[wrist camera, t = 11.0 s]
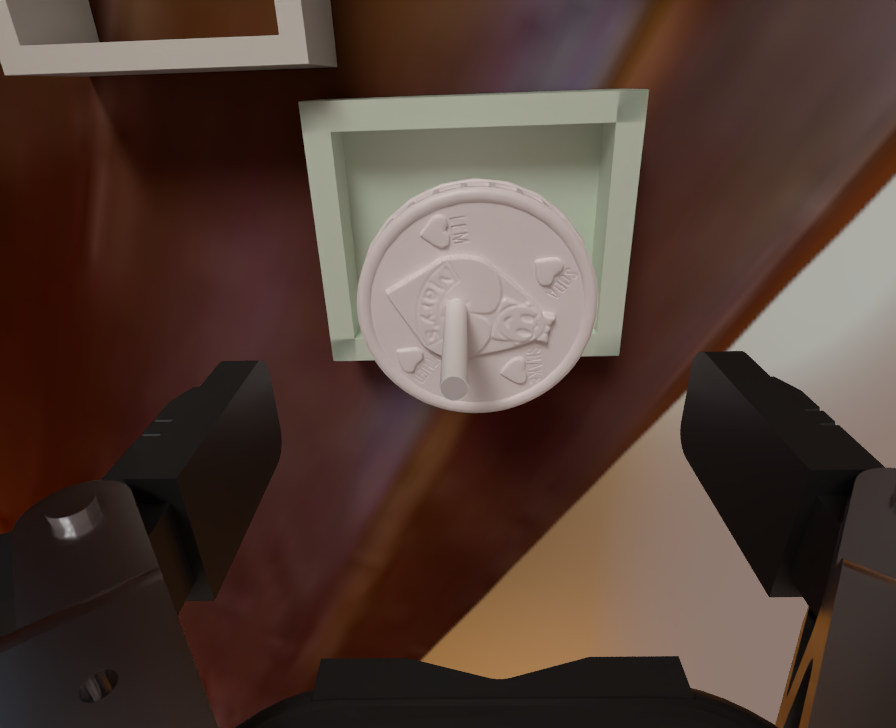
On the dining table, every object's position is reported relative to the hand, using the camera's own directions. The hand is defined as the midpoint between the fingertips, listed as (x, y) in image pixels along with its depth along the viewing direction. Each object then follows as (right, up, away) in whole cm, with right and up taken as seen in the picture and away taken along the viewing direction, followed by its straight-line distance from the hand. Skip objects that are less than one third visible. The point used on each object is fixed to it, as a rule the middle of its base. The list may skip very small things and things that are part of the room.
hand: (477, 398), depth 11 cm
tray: (0, +7, +14) cm, 15 cm away
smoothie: (0, +6, +13) cm, 14 cm away
